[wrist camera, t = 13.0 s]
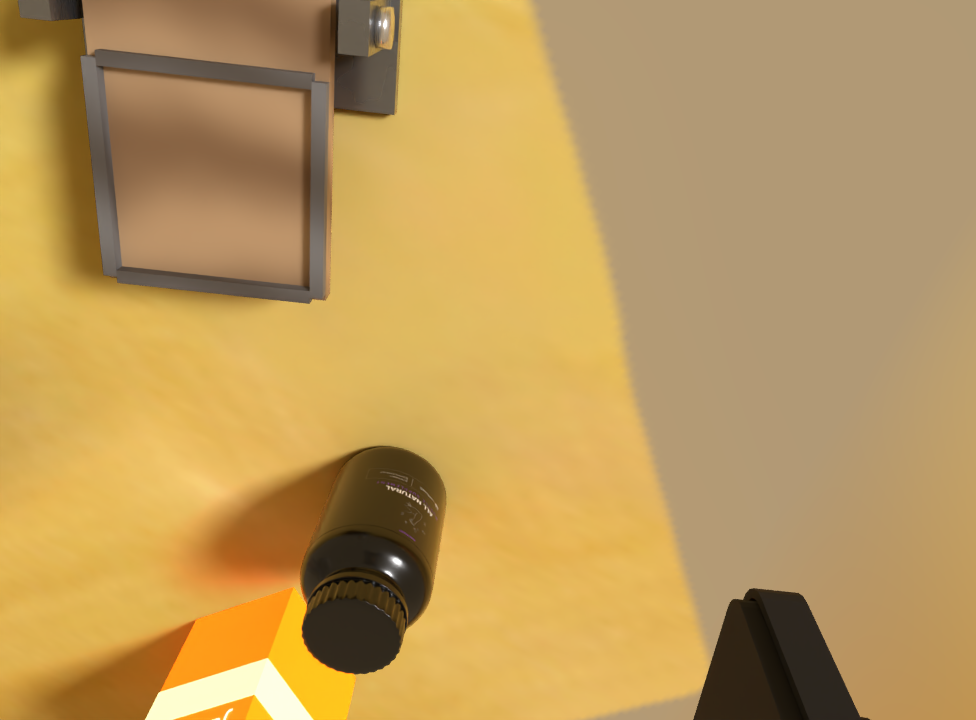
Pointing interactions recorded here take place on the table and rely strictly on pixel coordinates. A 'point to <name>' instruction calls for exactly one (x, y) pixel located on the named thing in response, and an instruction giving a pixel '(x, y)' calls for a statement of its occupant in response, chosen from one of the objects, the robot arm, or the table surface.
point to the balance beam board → (213, 143)
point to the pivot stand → (358, 48)
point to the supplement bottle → (372, 559)
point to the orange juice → (252, 669)
